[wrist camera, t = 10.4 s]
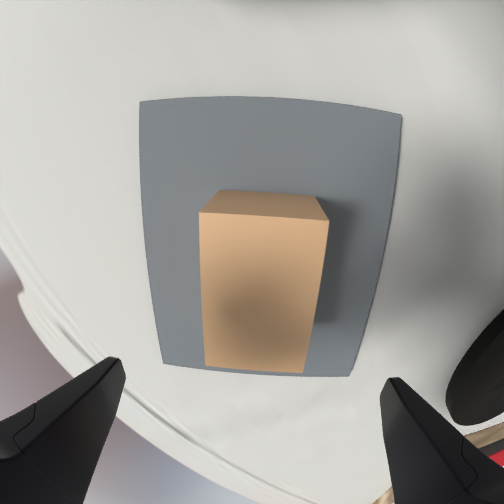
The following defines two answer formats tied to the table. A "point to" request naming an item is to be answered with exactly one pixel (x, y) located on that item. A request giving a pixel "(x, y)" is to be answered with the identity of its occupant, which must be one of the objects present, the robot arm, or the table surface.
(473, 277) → the table surface
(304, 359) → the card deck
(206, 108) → the mat
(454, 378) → the wireless charger
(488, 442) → the organizer frame
